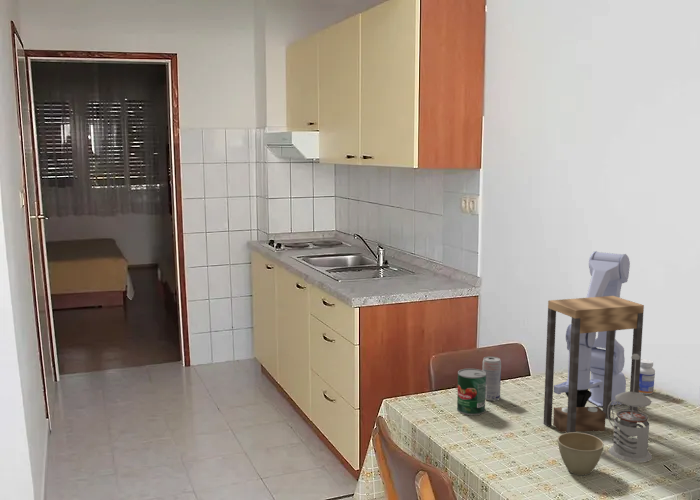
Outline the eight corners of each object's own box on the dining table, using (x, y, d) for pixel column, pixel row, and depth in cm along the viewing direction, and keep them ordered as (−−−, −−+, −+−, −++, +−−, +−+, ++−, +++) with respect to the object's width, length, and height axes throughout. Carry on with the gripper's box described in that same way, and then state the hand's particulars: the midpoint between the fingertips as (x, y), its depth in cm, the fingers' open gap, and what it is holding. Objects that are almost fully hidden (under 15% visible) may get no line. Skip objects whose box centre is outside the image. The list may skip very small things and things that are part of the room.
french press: (632, 465, 160) (638, 362, 156) (593, 447, 170) (598, 349, 166) (661, 457, 164) (667, 356, 161) (621, 439, 174) (627, 344, 171)
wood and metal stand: (606, 415, 190) (613, 295, 185) (636, 432, 178) (643, 305, 174) (543, 424, 184) (548, 300, 179) (569, 442, 173) (575, 310, 168)
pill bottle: (632, 388, 212) (634, 358, 210) (650, 389, 211) (652, 358, 209) (637, 394, 206) (638, 363, 205) (655, 395, 206) (657, 364, 204)
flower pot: (549, 461, 162) (551, 432, 161) (590, 459, 163) (592, 431, 162) (566, 481, 152) (568, 451, 151) (610, 479, 153) (611, 449, 152)
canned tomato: (454, 413, 192) (454, 375, 191) (460, 403, 200) (461, 367, 198) (482, 417, 189) (483, 378, 188) (487, 407, 197) (488, 370, 195)
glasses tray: (597, 424, 184) (598, 404, 184) (604, 431, 180) (605, 411, 179) (553, 425, 184) (554, 405, 183) (559, 432, 179) (560, 412, 178)
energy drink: (499, 395, 206) (500, 356, 205) (501, 401, 201) (502, 361, 199) (481, 394, 207) (481, 356, 205) (482, 400, 202) (483, 361, 200)
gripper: (591, 360, 190) (589, 407, 192) (547, 366, 186) (545, 413, 188) (609, 367, 184) (606, 416, 186) (563, 373, 179) (561, 423, 181)
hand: (577, 415), depth 186 cm, fingers closed
